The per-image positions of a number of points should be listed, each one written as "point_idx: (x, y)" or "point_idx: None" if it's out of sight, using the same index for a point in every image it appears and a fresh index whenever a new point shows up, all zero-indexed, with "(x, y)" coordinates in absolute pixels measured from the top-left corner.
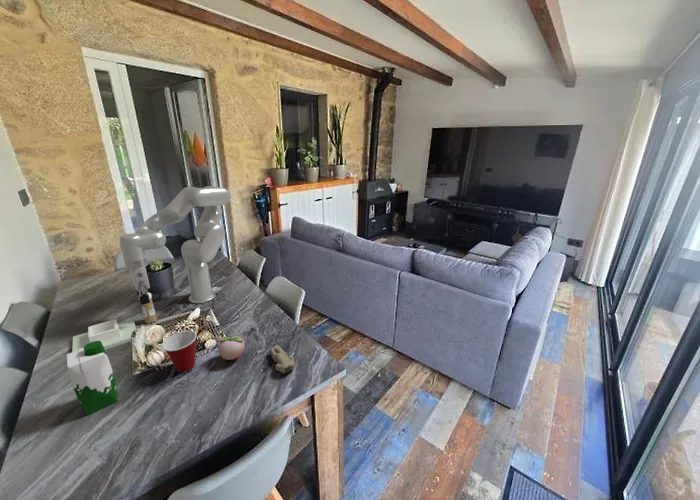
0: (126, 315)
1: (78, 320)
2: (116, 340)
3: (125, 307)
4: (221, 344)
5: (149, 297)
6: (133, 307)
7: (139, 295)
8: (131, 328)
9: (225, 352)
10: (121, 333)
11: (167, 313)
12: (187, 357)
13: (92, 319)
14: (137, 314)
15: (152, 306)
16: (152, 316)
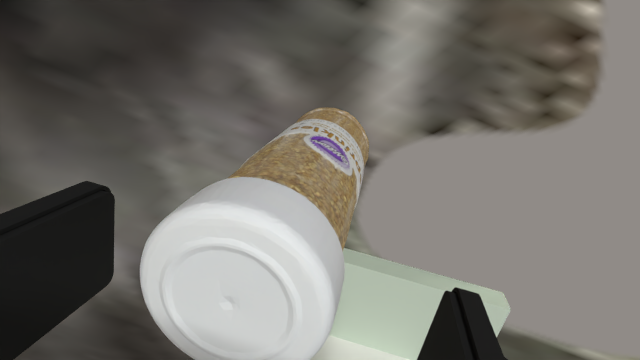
0: (124, 212)
1: (34, 355)
2: None
3: (5, 173)
4: None
5: (333, 250)
6: (33, 141)
7: (197, 357)
8: (367, 290)
9: None
10: (379, 343)
11: (310, 3)
12: None
13: (60, 323)
14: (156, 166)
15: (343, 167)
16: (363, 158)
